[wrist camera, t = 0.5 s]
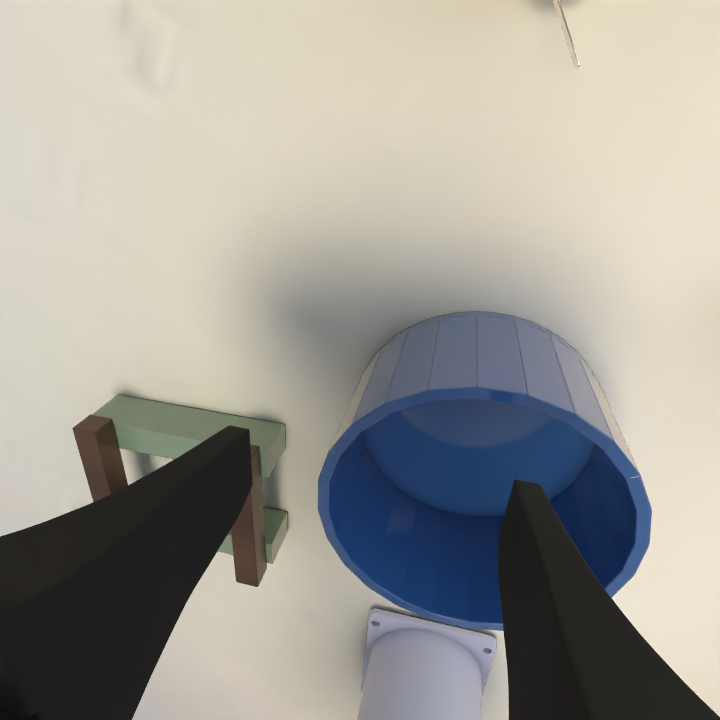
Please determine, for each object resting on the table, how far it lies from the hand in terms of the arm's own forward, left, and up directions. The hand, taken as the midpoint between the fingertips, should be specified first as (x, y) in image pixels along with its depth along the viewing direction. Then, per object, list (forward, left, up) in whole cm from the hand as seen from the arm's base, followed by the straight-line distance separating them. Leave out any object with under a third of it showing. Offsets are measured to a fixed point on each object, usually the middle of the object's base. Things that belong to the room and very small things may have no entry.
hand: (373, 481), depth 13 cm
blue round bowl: (-4, -3, -10) cm, 11 cm away
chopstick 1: (-10, +15, -7) cm, 20 cm away
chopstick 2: (-10, +7, -7) cm, 14 cm away
